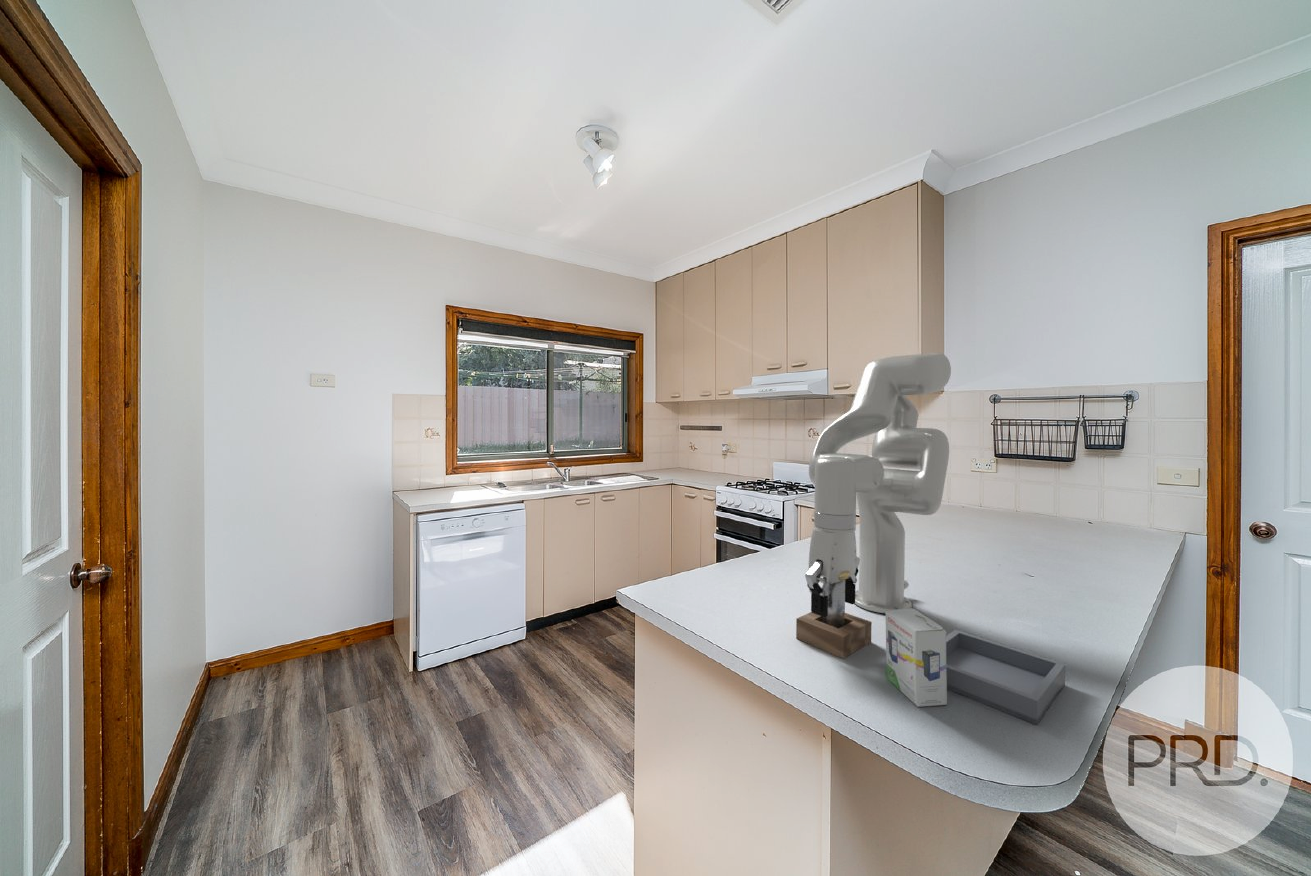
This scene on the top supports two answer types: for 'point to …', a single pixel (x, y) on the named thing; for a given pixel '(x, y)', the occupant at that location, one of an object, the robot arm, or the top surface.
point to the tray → (1002, 676)
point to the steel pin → (836, 602)
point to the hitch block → (834, 634)
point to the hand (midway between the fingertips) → (833, 608)
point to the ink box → (916, 656)
